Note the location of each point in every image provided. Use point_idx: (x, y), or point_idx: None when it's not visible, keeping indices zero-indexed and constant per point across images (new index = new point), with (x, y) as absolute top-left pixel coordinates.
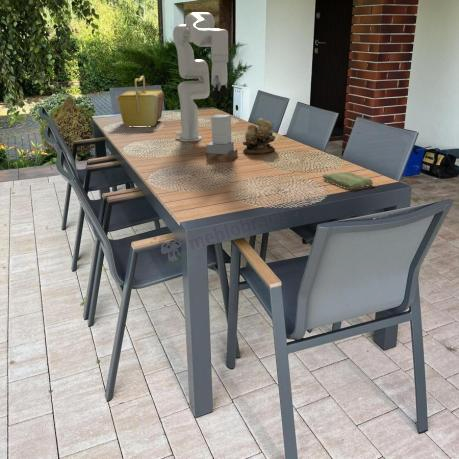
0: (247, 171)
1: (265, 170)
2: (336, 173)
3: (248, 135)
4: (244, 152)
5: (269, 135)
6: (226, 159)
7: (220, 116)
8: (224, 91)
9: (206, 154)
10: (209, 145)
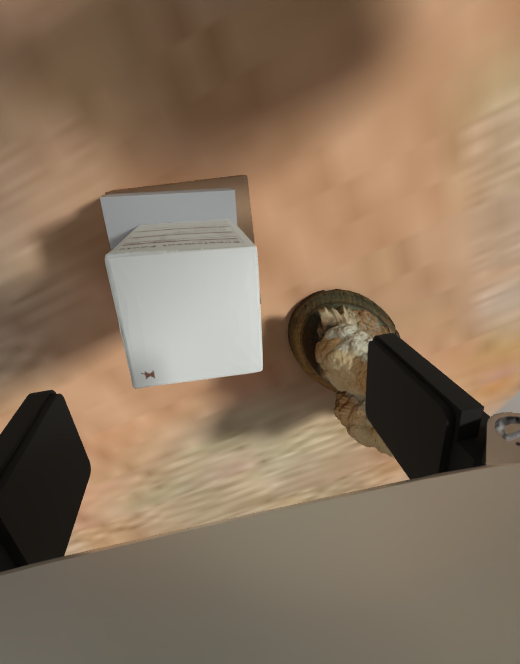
0: None
1: (97, 464)
2: None
3: (322, 361)
4: (298, 308)
5: None
6: None
7: (154, 335)
8: (405, 441)
9: (107, 194)
10: (105, 219)
